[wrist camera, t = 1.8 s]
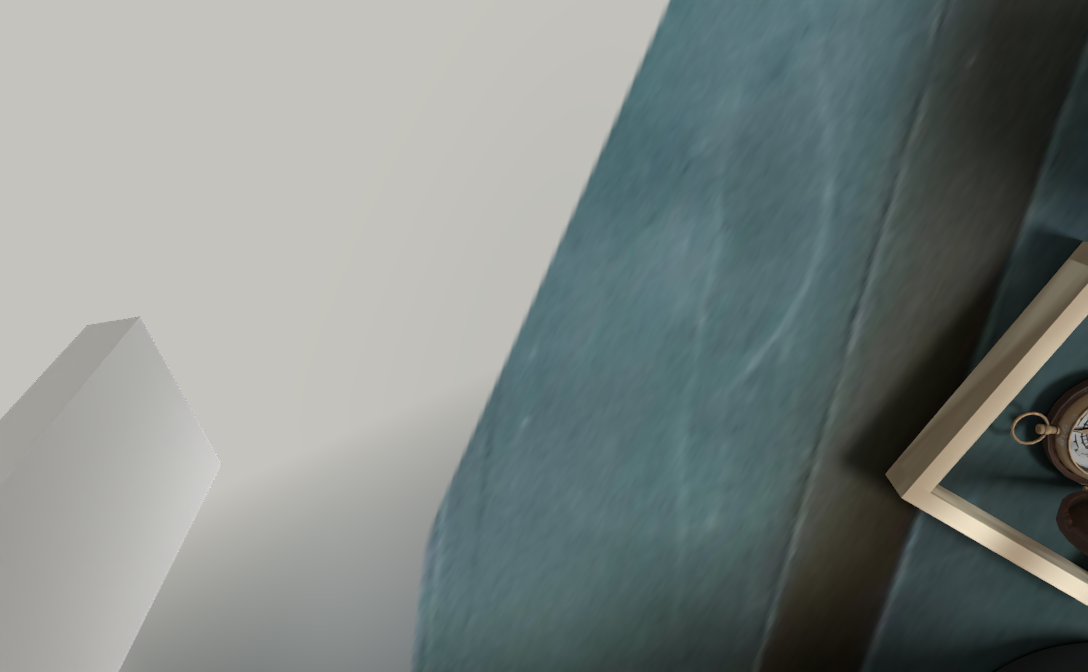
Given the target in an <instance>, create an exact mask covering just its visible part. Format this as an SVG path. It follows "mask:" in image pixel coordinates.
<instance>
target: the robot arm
mask: <svg viewBox="0 0 1088 672" xmlns="http://www.w3.org/2000/svg"><path fill="white" fill-rule="evenodd" d="M220 467H221V462H220V460H219V458H218V457H217V455H216V453H215V451H214V449H213V448H212V446H211V444H210V442H209V441H208V439H207V437H206V435H205V433H204V432H203V430H202V428H201V426H200V424H199V422H198V421H197V419H196V417H195V415H194V413H193V412H192V410H191V408H190V406H189V404H188V403H187V401H186V399H185V397H184V395H183V394H182V392H181V390H180V388H179V386H178V385H177V383H176V381H175V379H174V377H173V375H172V374H171V372H170V370H169V368H168V367H167V365H166V363H165V361H164V359H163V357H162V356H161V354H160V352H159V350H158V349H157V347H156V345H155V343H154V341H153V339H152V338H151V336H150V334H149V332H148V330H147V329H146V327H145V325H144V323H143V321H142V320H141V318H140V317H135V318H129V319H123V320H117V321H110V322H105V323H98V324H92V325H87V326H86V327H85V328H84V329H83V331H82V332H81V333H80V334H79V335H78V336H77V337H76V338H75V339H74V340H73V341H72V342H71V344H70V345H69V346H68V347H67V348H66V349H65V350H64V351H63V352H62V353H61V354H60V356H59V357H58V358H57V359H56V360H55V361H54V362H53V363H52V364H51V365H50V366H49V368H48V369H47V370H46V371H45V372H44V373H43V374H42V375H41V376H40V377H39V378H38V379H37V380H36V382H35V383H34V384H33V385H32V386H31V387H30V388H29V389H28V390H27V391H26V392H25V394H24V395H23V396H22V397H21V398H20V399H19V400H18V401H17V402H16V403H15V405H13V407H12V408H11V409H10V410H9V411H8V412H7V413H6V414H5V415H4V416H3V417H2V418H1V420H0V672H119V670H120V668H121V666H122V663H123V662H124V660H125V658H126V656H127V653H128V651H129V650H130V647H131V646H132V643H133V642H134V640H135V638H136V636H137V634H138V632H139V629H140V627H141V626H142V624H143V622H144V619H145V617H146V615H147V613H148V611H149V609H150V607H151V605H152V603H153V601H154V599H155V597H156V595H157V593H158V591H159V589H160V587H161V585H162V583H163V581H164V579H165V577H166V575H167V573H168V571H169V569H170V567H171V565H172V563H173V561H174V559H175V557H176V555H177V553H178V551H179V549H180V547H181V545H182V543H183V541H184V539H185V537H186V535H187V533H188V531H189V529H190V527H191V525H192V523H193V521H194V519H195V517H196V515H197V513H198V511H199V509H200V507H201V505H202V503H203V501H204V499H205V497H206V495H207V493H208V491H209V489H210V487H211V485H212V483H213V481H214V479H215V477H216V475H217V473H218V471H219V469H220ZM996 672H1088V643H1076V644H1068V645H1062V646H1057V647H1053V648H1049V649H1045V650H1042V651H1038V652H1035V653H1032V654H1030V655H1027V656H1025V657H1022V658H1020V659H1018V660H1016V661H1014V662H1012V663H1010V664H1008V665H1006V666H1004V667H1003V668H1001V669H999V670H998V671H996Z"/></svg>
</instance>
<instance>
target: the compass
mask: <svg viewBox="0 0 1088 672" xmlns="http://www.w3.org/2000/svg"><path fill="white" fill-rule="evenodd" d="M1027 415H1038V416H1040V417H1042V418H1043V419H1044V421H1045V423H1044V424H1037V425H1036V427H1035V430H1036V432H1037V433H1038V434H1042V436H1040V437H1039V438H1038V439H1036V440H1034V441H1029V442H1025V441H1021V440H1019V439H1018V438H1016V436H1015V434H1014V427H1015V425H1016V423H1017V422H1018V421H1019V420H1020V419H1021V418H1022V417H1025V416H1027ZM1011 435H1012V437H1013V439H1014V440H1016V441H1017V442H1018V443H1021V444H1025V445H1028V444H1035V443H1037V442H1039V441H1041V440H1043V448H1044V451H1045V453H1046V455H1047V457H1048V459H1049V461H1050V462H1051V463H1052V464H1053V465H1054V466H1055V467H1056V468H1057V469H1058V470H1059V471H1060V472H1061V473H1062V474H1063V475H1065V476H1066V477H1068V478H1070V479H1072V480H1074V481H1076V482H1078V483H1080V484H1083V485H1087V486H1084V487H1083V490H1084V491H1079V492H1075V493H1071V494H1069V495H1068V496H1067V497H1065V498H1064V499H1063V500H1062V502H1061V505H1060V507H1059V510H1058V513H1057V517H1056V521H1057V524H1058V527H1059V530H1060V531H1061V532H1062V533H1063V535H1064V536H1065V537H1066V538H1067V540H1068V541H1069V542H1070V543H1071V544H1073V545H1074V546H1075V547H1076V548H1078V549H1079V550H1080V551H1081V552H1082V553H1084V554H1085V555H1087V556H1088V380H1085V381H1083V382H1081V383H1080V384H1078V385H1076V386H1075V387H1073V388H1071V389H1069V390H1068V391H1067V392H1066V393H1065V394H1064V395H1063V396H1062V397H1061V398H1059V399H1058V400H1057V401H1056V402H1055V404H1054V405H1053V407H1052V408H1051V410H1050V412H1049V413H1048V415H1047V417H1045V416H1044V415H1043V414H1041V413H1037V412H1026V413H1024V414H1022V415H1019V416H1018V417H1017V418H1016V419H1015V420H1014V421H1013V423H1012V425H1011Z"/></svg>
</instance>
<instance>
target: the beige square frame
mask: <svg viewBox="0 0 1088 672" xmlns="http://www.w3.org/2000/svg"><path fill="white" fill-rule="evenodd" d="M1087 315H1088V242H1085V241H1083V242H1082V243H1081V244H1080V245H1079V246H1078V248H1077V249H1076V250H1075V251H1074V252H1073V254H1072V255H1071V256H1070V257H1069V258H1068V259H1067V261H1066V262H1065V263H1064V264H1063V265H1062V266H1061V268H1060V269H1059V270H1058V271H1057V272H1056V274H1055V275H1054V276H1053V277H1052V278H1051V279H1050V281H1049V282H1048V283H1047V284H1046V285H1045V286H1044V288H1043V289H1042V290H1041V291H1040V292H1039V294H1038V295H1037V296H1036V297H1035V298H1034V299H1033V301H1032V302H1031V303H1030V304H1029V305H1028V306H1027V308H1026V309H1025V310H1024V311H1023V312H1022V314H1021V315H1020V316H1019V317H1018V318H1017V319H1016V321H1015V322H1014V323H1013V324H1012V325H1011V326H1010V328H1009V329H1008V330H1007V331H1006V332H1005V334H1004V335H1003V336H1002V337H1001V338H1000V339H999V341H998V342H997V343H996V344H995V345H994V346H993V348H992V349H991V350H990V351H989V352H988V354H987V355H986V356H985V357H984V358H983V359H982V361H981V362H980V363H979V364H978V365H977V366H976V368H975V369H974V370H973V371H972V372H971V374H970V375H969V376H968V377H967V378H966V379H965V381H964V382H963V383H962V384H961V385H960V386H959V388H958V389H957V390H956V391H955V392H954V394H953V395H952V396H951V397H950V398H949V399H948V401H947V402H946V403H945V404H944V405H943V406H942V408H941V409H940V410H939V411H938V412H937V414H936V415H935V416H934V417H933V418H932V419H931V421H930V422H929V423H928V424H927V425H926V426H925V428H924V429H923V430H922V431H921V432H920V434H919V435H918V436H917V437H916V438H915V439H914V441H913V442H912V443H911V444H910V445H909V446H908V448H907V449H906V450H905V451H904V452H903V454H902V455H901V456H900V457H899V458H898V459H897V461H896V462H895V463H894V464H893V465H892V466H891V468H890V469H889V470H888V471H887V472H886V474H885V475H886V476H887V478H888V479H889V481H890V482H891V484H892V485H893V487H894V488H895V489H896V491H897V492H898V494H899V495H900V497H901V498H902V499H904V500H906V501H908V502H909V503H911V504H913V505H914V506H916V507H918V508H920V509H921V510H923V511H925V512H927V513H928V514H930V515H932V516H933V517H935V518H937V519H939V520H940V521H942V522H944V523H946V524H947V525H949V526H951V527H953V528H954V529H956V530H958V531H959V532H961V533H963V534H965V535H966V536H968V537H970V538H972V539H973V540H975V541H977V542H978V543H980V544H982V545H984V546H985V547H987V548H989V549H991V550H992V551H994V552H996V553H997V554H999V555H1001V556H1003V557H1004V558H1006V559H1008V560H1010V561H1011V562H1013V563H1015V564H1017V565H1018V566H1020V567H1022V568H1023V569H1025V570H1027V571H1029V572H1030V573H1032V574H1034V575H1036V576H1037V577H1039V578H1041V579H1042V580H1044V581H1046V582H1048V583H1049V584H1051V585H1053V586H1055V587H1056V588H1058V589H1060V590H1061V591H1063V592H1065V593H1067V594H1068V595H1070V596H1072V597H1074V598H1075V599H1077V600H1079V601H1081V602H1082V603H1084V604H1086V605H1087V606H1088V571H1086V570H1084V569H1082V568H1081V567H1079V566H1077V565H1076V564H1074V563H1072V562H1070V561H1069V560H1067V559H1065V558H1064V557H1062V556H1060V555H1058V554H1057V553H1055V552H1053V551H1052V550H1050V549H1048V548H1046V547H1045V546H1043V545H1041V544H1040V543H1038V542H1036V541H1034V540H1033V539H1031V538H1029V537H1028V536H1026V535H1024V534H1022V533H1021V532H1019V531H1017V530H1016V529H1014V528H1012V527H1010V526H1009V525H1007V524H1005V523H1004V522H1002V521H1000V520H998V519H997V518H995V517H993V516H992V515H990V514H988V513H986V512H985V511H983V510H981V509H980V508H978V507H976V506H974V505H973V504H971V503H969V502H967V501H966V500H964V499H962V498H961V497H959V496H957V495H955V494H954V493H952V492H950V491H949V490H947V489H945V488H943V487H942V486H940V485H938V483H939V482H940V481H941V480H942V479H943V477H944V476H945V475H946V474H947V473H948V472H949V471H950V470H951V468H952V467H953V466H954V465H955V464H956V463H957V462H958V461H959V459H960V458H961V457H962V456H963V455H964V454H965V453H966V452H967V450H968V449H969V448H970V447H971V446H972V445H973V444H974V442H975V441H976V440H977V439H978V438H979V437H980V436H981V435H982V433H983V432H984V431H985V430H986V429H987V428H988V427H989V426H990V424H991V423H992V422H993V421H994V420H995V419H996V418H997V416H998V415H999V414H1000V413H1001V412H1002V411H1003V410H1004V409H1005V407H1006V406H1007V405H1008V404H1009V403H1010V402H1011V401H1012V400H1013V398H1014V397H1015V396H1016V395H1017V394H1018V393H1019V392H1020V390H1021V389H1022V388H1023V387H1024V386H1025V385H1026V384H1027V383H1028V381H1029V380H1030V379H1031V378H1032V377H1033V376H1034V375H1035V374H1036V372H1037V371H1038V370H1039V369H1040V368H1041V367H1042V366H1043V364H1044V363H1045V362H1046V361H1047V360H1048V359H1049V358H1050V357H1051V355H1052V354H1053V353H1054V352H1055V351H1056V350H1057V349H1058V348H1059V346H1060V345H1061V344H1062V343H1063V342H1064V341H1065V340H1066V338H1067V337H1068V336H1069V335H1070V334H1071V333H1072V332H1073V331H1074V329H1075V328H1076V327H1077V326H1078V325H1079V324H1080V323H1081V322H1082V320H1083V319H1084V318H1085V317H1086V316H1087Z"/></svg>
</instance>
